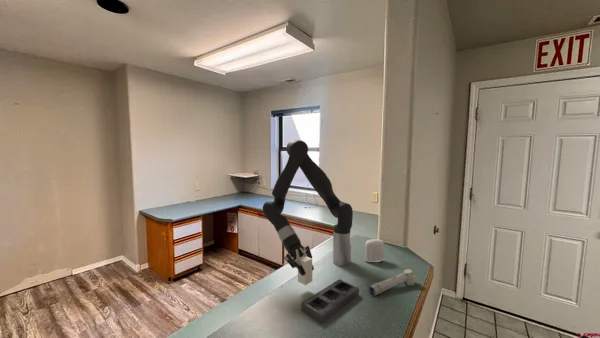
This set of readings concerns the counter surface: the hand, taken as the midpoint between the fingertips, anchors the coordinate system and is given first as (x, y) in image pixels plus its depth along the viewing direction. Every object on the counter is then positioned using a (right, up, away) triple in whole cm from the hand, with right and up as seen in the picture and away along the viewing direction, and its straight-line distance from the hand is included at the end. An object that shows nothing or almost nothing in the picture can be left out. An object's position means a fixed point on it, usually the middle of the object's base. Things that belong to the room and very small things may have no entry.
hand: (308, 272), depth 100 cm
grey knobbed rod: (+38, -9, +4) cm, 39 cm away
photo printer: (+38, -7, +30) cm, 49 cm away
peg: (-1, -5, +2) cm, 5 cm away
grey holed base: (+9, -9, -6) cm, 14 cm away
